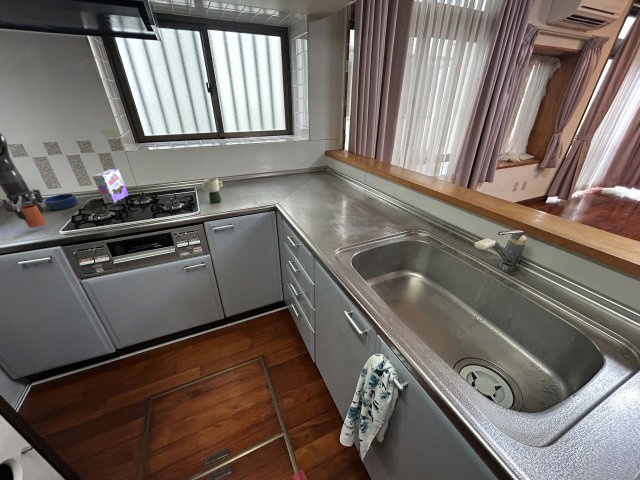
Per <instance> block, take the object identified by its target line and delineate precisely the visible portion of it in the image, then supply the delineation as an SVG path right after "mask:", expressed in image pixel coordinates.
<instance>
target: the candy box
mask: <svg viewBox="0 0 640 480" xmlns="http://www.w3.org/2000/svg"><path fill="white" fill-rule="evenodd" d="M92 178H93V180H94V183H95V185H96V187H97V190H98V192H99V195H100V197H101V199H102V201H103V203H104V204H116V203H118V202H120V201H122V200H123V199H125V198H127V197H128V196H129V195H130V194H129V191H128V189H127V187H126V184H125V182H124V179H123V177H122V174H121V171H120V169H119V168H115V169H114V168H113V169H112V168H111V169H107V170H105V171H102V172H99V173H97V174H93V175H92Z"/></svg>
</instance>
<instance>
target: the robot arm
mask: <svg viewBox="0 0 640 480" xmlns="http://www.w3.org/2000/svg"><path fill="white" fill-rule="evenodd" d="M0 188H1V189H2V191H3V192H4V194H5V195H6V197H5V198H0V204H1V206H2V207H3V208H4V209H5V210H6V212H7V213H15V215H16V216H17V218H18V219H20V220H24V219H26V218H25V216H24V214H23V213H22V211H20V208H21V207H22V204H23V205H24V204H25V203H31V205H32V204H35V205H37V207H38V209H39V210H40V212H41V214H42V213H43V211H44V209H43V207H42V205H41V204H42V203H44V199H43V196H42V194H41V192H40V190H39V189H36V188H35V189H34V188H33V189H31V190H30V189H29V187H28V184H27V182H26V181H25V180H24V178H23V176H22V174H21V172H20V171H19V170H18V169H17V168H16V166H15V164H14V162H13V161H12V159H11V155H10V151H9V146H8V142H7V139H6V137H5V136H4V134H3V133H2V132H0ZM32 195H33V196H34V197H32ZM10 201H11V204H10Z"/></svg>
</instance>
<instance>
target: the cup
mask: <svg viewBox="0 0 640 480" xmlns="http://www.w3.org/2000/svg"><path fill="white" fill-rule="evenodd" d="M20 211H22V213H23V214H24V216H25V218H26V219H23V221H24V222H25V224H26V226H27V227H28V228H30V229H33V228H34V229H35V228H39V227H43V226H44V225H46V224H47V220H46V218H45V217H44V216H43V214H42V213H41V212H40V210H39V209H38V207H37V205H35V204H32V203H31V204H26V205H21V208H20Z"/></svg>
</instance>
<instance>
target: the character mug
mask: <svg viewBox="0 0 640 480" xmlns="http://www.w3.org/2000/svg"><path fill="white" fill-rule="evenodd" d="M203 181H204V183H202V184H201V188H202V190H204V191H205V190H206V191H207V192H208V196H209V202H210V203H218V202H221V201H222V197H221V194H220V192H219V191H220V188H223V181H222V180H219V179H218V177H208V178H204V180H203Z"/></svg>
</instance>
